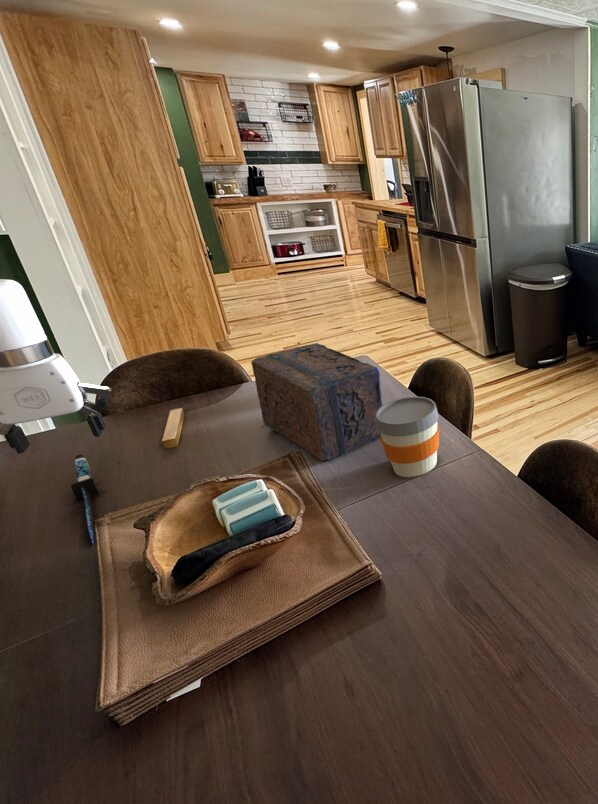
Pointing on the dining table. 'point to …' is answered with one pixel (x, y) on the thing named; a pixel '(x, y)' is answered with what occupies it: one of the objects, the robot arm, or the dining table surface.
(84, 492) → the knife
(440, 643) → the dining table surface
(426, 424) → the reusable coffee cup
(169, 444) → the tan wooden bar
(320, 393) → the decorative box
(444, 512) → the dining table surface
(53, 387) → the robot arm
